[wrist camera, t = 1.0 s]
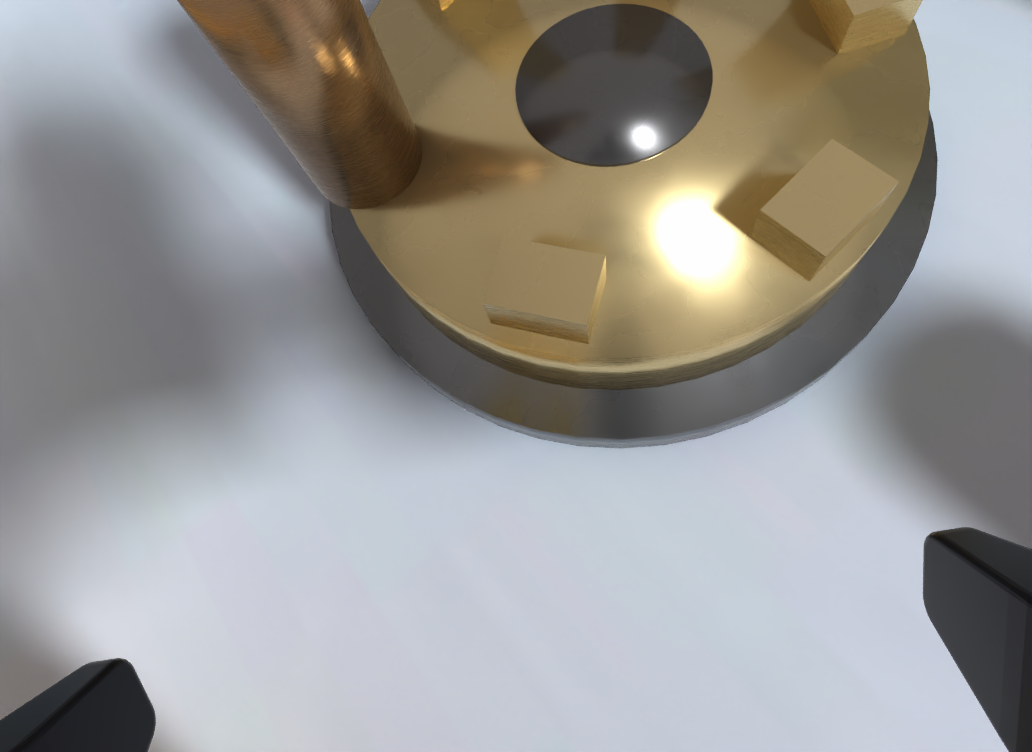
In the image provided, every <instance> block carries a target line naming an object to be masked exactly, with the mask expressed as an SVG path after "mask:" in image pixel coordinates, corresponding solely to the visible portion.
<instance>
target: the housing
mask: <svg viewBox="0 0 1032 752" xmlns="http://www.w3.org/2000/svg"><path fill="white" fill-rule="evenodd" d="M936 179H937V151H936V143H935V136H934V128H933V122H932V118H931V115H930V111H929V118H928V127H927V131H926V136H925V140H924V145H923V149H922V154H921V158H920V161H919V163H918V166H917V168H916V171H915V173H914V176H913V178H912V180H911V183H910V185H909V188H908V190H907V193H906V194H905V196H904V198H903V199H902V201H901V203H900V204H899V206H898V208H897V209H896V211H895V213H894V214H893V216H892V218H891V219H890V221H889V222H888V224H887V226H886V227H885V229H884V230H883V231H882V233H881V234H880V235H879V237H878V238H877V239H876V241H875V242H874V243H873V245H872V246H871V247H870V249H869V250H868V251H867V253H866V254H865V255H864V257H863V258H862V259H861V261H860V262H859V263H858V265H857V266H856V267H855V269H854V270H853V271H852V273H851V274H850V276H849V277H848V278H847V279H846V280H845V282H844V283H843V284H842V285H841V286H840V288H839V289H838V290H837V291H836V292H835V294H834V295H833V296H832V297H831V298H830V299H829V301H828V302H827V303H826V304H825V305H824V306H823V307H822V308H821V309H819V310H818V311H817V312H816V313H815V314H814V315H813V316H812V317H811V318H809V319H808V320H807V321H806V322H805V323H804V324H803V325H802V326H801V327H799V328H798V329H797V330H795V331H794V332H792V333H791V334H789V335H788V336H786V337H785V338H783V339H782V340H780V341H779V342H777V343H776V344H774V345H773V346H771V347H770V348H768V349H767V350H765V351H763V352H761V353H759V354H757V355H755V356H753V357H751V358H749V359H747V360H745V361H743V362H741V363H739V364H737V365H735V366H732V367H729V368H727V369H724V370H721V371H718V372H715V373H712V374H709V375H706V376H704V377H701V378H698V379H694V380H689V381H684V382H680V383H675V384H670V385H666V386H661V387H652V388H641V389H629V390H600V389H580V388H574V387H568V386H562V385H556V384H550V383H545V382H541V381H538V380H535V379H531V378H528V377H525V376H521V375H518V374H515V373H511V372H509V371H507V370H505V369H502V368H500V367H498V366H496V365H494V364H491V363H489V362H487V361H485V360H482V359H480V358H478V357H477V356H475V355H474V354H472V353H470V352H469V351H467V350H466V349H464V348H462V347H461V346H459V345H458V344H456V343H454V342H453V341H451V340H450V339H449V338H448V337H446V336H445V335H444V334H443V333H442V332H441V331H439V330H438V329H437V328H436V327H435V326H433V325H432V324H431V323H430V322H429V321H427V320H426V319H425V317H424V316H423V315H422V314H421V313H420V312H419V311H418V310H417V308H416V307H415V306H414V305H413V304H412V303H411V302H410V301H409V299H408V298H407V297H406V296H405V294H404V293H403V292H402V290H401V289H400V288H399V286H398V285H397V283H396V282H395V281H394V279H393V278H392V276H391V275H390V274H389V272H388V271H387V270H386V268H385V267H384V265H383V264H382V263H381V261H380V260H379V258H378V257H377V256H376V254H375V253H374V251H373V250H372V248H371V246H370V245H369V243H368V242H367V240H366V239H365V237H364V236H363V234H362V233H361V231H360V230H359V228H358V226H357V224H356V222H355V219H354V217H353V215H352V213H351V210H350V209H349V208H345V207H341V206H338V205H336V204H334V203H332V202H330V201H329V202H330V212H331V222H332V232H333V236H334V240H335V244H336V248H337V252H338V256H339V260H340V264H341V266H342V268H343V271H344V273H345V276H346V278H347V280H348V283H349V285H350V287H351V290H352V292H353V294H354V296H355V298H356V299H357V301H358V303H359V304H360V306H361V307H362V309H363V311H364V312H365V314H366V316H367V317H368V319H369V320H370V322H371V324H372V325H373V326H374V327H375V329H376V330H377V331H378V332H379V333H380V334H381V336H382V337H383V338H384V339H385V340H386V342H387V343H388V344H389V345H390V346H391V347H392V349H393V350H394V351H395V352H396V353H397V354H398V355H399V356H400V357H401V359H402V360H403V361H404V362H405V363H406V364H407V365H408V366H409V367H410V368H411V369H412V370H414V371H415V372H416V373H417V374H418V375H419V376H420V377H422V378H423V379H424V380H425V381H426V382H427V383H428V384H429V385H431V386H432V387H433V388H434V389H435V390H437V391H438V392H440V393H441V394H443V395H444V396H446V397H447V398H449V399H450V400H452V401H453V402H455V403H456V404H458V405H459V406H461V407H462V408H464V409H466V410H467V411H470V412H472V413H474V414H476V415H478V416H480V417H482V418H484V419H486V420H488V421H490V422H493V423H495V424H497V425H499V426H501V427H504V428H507V429H510V430H514V431H517V432H520V433H523V434H526V435H529V436H532V437H535V438H538V439H544V440H549V441H554V442H560V443H565V444H571V445H576V446H588V447H607V448H631V447H645V446H658V445H667V444H672V443H676V442H681V441H686V440H691V439H696V438H701V437H706V436H709V435H712V434H715V433H718V432H720V431H723V430H726V429H729V428H732V427H735V426H738V425H741V424H744V423H747V422H749V421H751V420H753V419H755V418H757V417H759V416H761V415H763V414H765V413H767V412H769V411H771V410H773V409H775V408H777V407H779V406H781V405H783V404H785V403H786V402H788V401H789V400H791V399H792V398H794V397H795V396H797V395H798V394H800V393H801V392H803V391H804V390H805V389H807V388H808V387H810V386H811V385H813V384H814V383H816V382H817V381H819V380H820V379H821V378H822V377H823V376H824V375H826V374H827V373H828V372H829V371H830V370H831V369H832V368H833V367H834V366H835V365H837V364H838V363H839V362H840V361H841V360H842V359H843V358H844V357H845V356H846V355H848V354H849V353H850V352H851V351H852V350H853V349H854V348H855V347H856V346H857V345H858V344H859V343H860V342H861V341H862V340H863V339H864V338H865V337H866V336H867V334H868V333H869V332H870V331H871V329H872V328H873V327H874V326H875V325H876V323H877V322H878V321H879V320H880V318H881V317H882V316H883V315H884V314H885V312H886V311H887V310H888V309H889V307H890V306H891V305H892V304H893V302H894V301H895V299H896V297H897V296H898V294H899V292H900V291H901V289H902V287H903V285H904V284H905V282H906V280H907V279H908V277H909V275H910V274H911V272H912V270H913V268H914V266H915V264H916V261H917V258H918V256H919V253H920V251H921V248H922V246H923V243H924V241H925V238H926V235H927V233H928V229H929V225H930V220H931V215H932V210H933V206H934V201H935V196H936Z"/></svg>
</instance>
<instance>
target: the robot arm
mask: <svg viewBox="0 0 1032 752" xmlns="http://www.w3.org/2000/svg"><path fill="white" fill-rule="evenodd" d="M923 599H924V605H925V608H926V611H927V614H928V616H929V618H930V620H931V622H932V624H933V625H934V627H935V629H936V630H937V632H938V634H939V636H940V637H941V639H942V641H943V642H944V644H945V646H946V647H947V649H948V651H949V652H950V654H951V656H952V657H953V659H954V661H955V663H956V664H957V666H958V668H959V669H960V671H961V673H962V674H963V676H964V678H965V679H966V681H967V683H968V684H969V686H970V688H971V690H972V691H973V693H974V695H975V696H976V698H977V700H978V701H979V703H980V705H981V706H982V708H983V710H984V711H985V713H986V715H987V716H988V718H989V720H990V722H991V723H992V725H993V727H994V728H995V730H996V732H997V733H998V735H999V737H1000V738H1001V740H1002V741H1003V743H1004V745H1005V746H1006V748H1007V749H1008V751H1009V752H1032V549H1029V548H1026V547H1024V546H1021V545H1018V544H1015V543H1013V542H1010V541H1007V540H1004V539H1002V538H999V537H996V536H993V535H991V534H988V533H985V532H982V531H980V530H977V529H974V528H969V527H963V528H956V529H949V530H943V531H937V532H932V533H931V534H929V535H928V536H927V537H926V539H925V542H924V562H923ZM155 724H156V717H155V711H154V708H153V706H152V704H151V702H150V700H149V698H148V696H147V694H146V692H145V689H144V687H143V685H142V683H141V681H140V679H139V677H138V675H137V673H136V671H135V669H134V667H133V666H132V664H131V663H130V662H128V661H127V660H126V659H121V658H116V659H109V660H103V661H96V662H91V663H88V664H86V665H84V666H82V667H80V668H79V669H77V670H76V671H74V672H73V673H71V674H70V675H68V676H67V677H65V678H64V679H62V680H61V681H59V682H58V683H56V684H55V685H53V686H52V687H50V688H49V689H47V690H46V691H44V692H43V693H41V694H39V695H38V696H36V697H35V698H33V699H32V700H30V701H29V702H27V703H26V704H24V705H23V706H21V707H20V708H18V709H17V710H15V711H14V712H12V713H11V714H9V715H8V716H6V717H5V718H3V719H2V720H0V752H148V749H149V746H150V743H151V741H152V738H153V735H154V731H155Z"/></svg>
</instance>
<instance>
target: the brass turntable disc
mask: <svg viewBox="0 0 1032 752" xmlns="http://www.w3.org/2000/svg"><path fill="white" fill-rule="evenodd" d="M177 1H178V2H179V4H180V5H181V6H182V8H183V9H184V10H185V12H186V13H187V14H188V16H189V17H190V18H191V20H192V21H193V22H194V24H195V25H196V26H197V28H198V29H199V30H200V32H201V33H202V34H203V36H204V37H205V38H206V40H207V41H208V42H209V44H210V45H211V46H212V48H213V49H214V50H215V52H216V53H217V54H218V56H219V57H220V58H221V60H222V61H223V62H224V64H225V65H226V66H227V68H228V69H229V71H230V72H231V73H232V75H233V76H234V77H235V79H236V80H237V81H238V83H239V84H240V85H241V87H242V88H243V89H244V91H245V92H246V93H247V95H248V96H249V97H250V99H251V100H252V101H253V103H254V104H255V105H256V107H257V108H258V109H259V111H260V112H261V113H262V115H263V116H264V117H265V119H266V120H267V121H268V123H269V124H270V125H271V127H272V128H273V129H274V131H275V132H276V133H277V135H278V136H279V137H280V139H281V140H282V141H283V143H284V144H285V145H286V147H287V148H288V149H289V151H290V152H291V153H292V155H293V156H294V157H295V159H296V160H297V162H298V163H299V164H300V166H301V167H302V168H303V170H304V171H305V172H306V174H307V175H308V176H309V178H310V179H311V180H312V182H313V183H314V184H315V186H316V187H317V188H318V190H319V191H320V192H321V193H322V195H323V196H324V197H325V198H327V199H328V200H329V201H330V202H332V203H334V204H336V205H338V206H341V207H345V208H349V209H350V210H351V213H352V215H353V217H354V219H355V222H356V224H357V226H358V228H359V230H360V231H361V233H362V234H363V236H364V237H365V239H366V240H367V242H368V243H369V245H370V246H371V248H372V250H373V251H374V253H375V254H376V256H377V257H378V258H379V260H380V261H381V263H382V264H383V265H384V267H385V268H386V270H387V271H388V272H389V274H390V275H391V276H392V278H393V279H394V281H395V282H396V283H397V285H398V286H399V288H400V289H401V290H402V292H403V293H404V294H405V296H406V297H407V298H408V299H409V301H410V302H411V303H412V304H413V305H414V306H415V307H416V308H417V310H418V311H419V312H420V313H421V314H422V315H423V316H424V317H425V319H426V320H427V321H429V322H430V323H431V324H432V325H433V326H435V327H436V328H437V329H438V330H439V331H441V332H442V333H443V334H444V335H445V336H446V337H448V338H449V339H450V340H451V341H453V342H454V343H456V344H458V345H459V346H461V347H462V348H464V349H466V350H467V351H469V352H470V353H472V354H474V355H475V356H477V357H478V358H480V359H482V360H485V361H487V362H489V363H491V364H494V365H496V366H498V367H500V368H502V369H505V370H507V371H509V372H511V373H515V374H518V375H521V376H525V377H528V378H531V379H535V380H538V381H541V382H545V383H550V384H556V385H562V386H568V387H574V388H580V389H600V390H629V389H641V388H652V387H661V386H666V385H670V384H675V383H680V382H684V381H689V380H694V379H698V378H701V377H704V376H706V375H709V374H712V373H715V372H718V371H721V370H724V369H727V368H729V367H732V366H735V365H737V364H739V363H741V362H743V361H745V360H747V359H749V358H751V357H753V356H755V355H757V354H759V353H761V352H763V351H765V350H767V349H768V348H770V347H771V346H773V345H774V344H776V343H777V342H779V341H780V340H782V339H783V338H785V337H786V336H788V335H789V334H791V333H792V332H794V331H795V330H797V329H798V328H799V327H801V326H802V325H803V324H804V323H805V322H806V321H807V320H808V319H809V318H811V317H812V316H813V315H814V314H815V313H816V312H817V311H818V310H819V309H821V308H822V307H823V306H824V305H825V304H826V303H827V302H828V301H829V299H830V298H831V297H832V296H833V295H834V294H835V292H836V291H837V290H838V289H839V288H840V286H841V285H842V284H843V283H844V282H845V280H846V279H847V278H848V277H849V276H850V274H851V273H852V271H853V270H854V269H855V267H856V266H857V265H858V263H859V262H860V261H861V259H862V258H863V257H864V255H865V254H866V253H867V251H868V250H869V249H870V247H871V246H872V245H873V243H874V242H875V241H876V239H877V238H878V237H879V235H880V234H881V233H882V231H883V230H884V229H885V227H886V226H887V224H888V222H889V221H890V219H891V218H892V216H893V214H894V213H895V211H896V209H897V208H898V206H899V204H900V203H901V201H902V199H903V198H904V196H905V194H906V193H907V190H908V188H909V185H910V183H911V180H912V178H913V176H914V173H915V171H916V168H917V166H918V163H919V161H920V158H921V154H922V149H923V145H924V140H925V136H926V131H927V127H928V118H929V96H930V86H929V78H928V70H927V63H926V55H925V52H924V49H923V45H922V42H921V39H920V36H919V32H918V29H917V26H916V23H915V21H914V19H913V18H914V16H915V14H916V12H917V10H918V8H919V6H920V4H921V2H922V0H380V2H379V3H378V5H377V6H376V8H375V9H374V11H373V12H372V14H371V15H370V17H369V18H367V16H366V14H365V11H364V9H363V7H362V5H361V2H360V0H177Z"/></svg>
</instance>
